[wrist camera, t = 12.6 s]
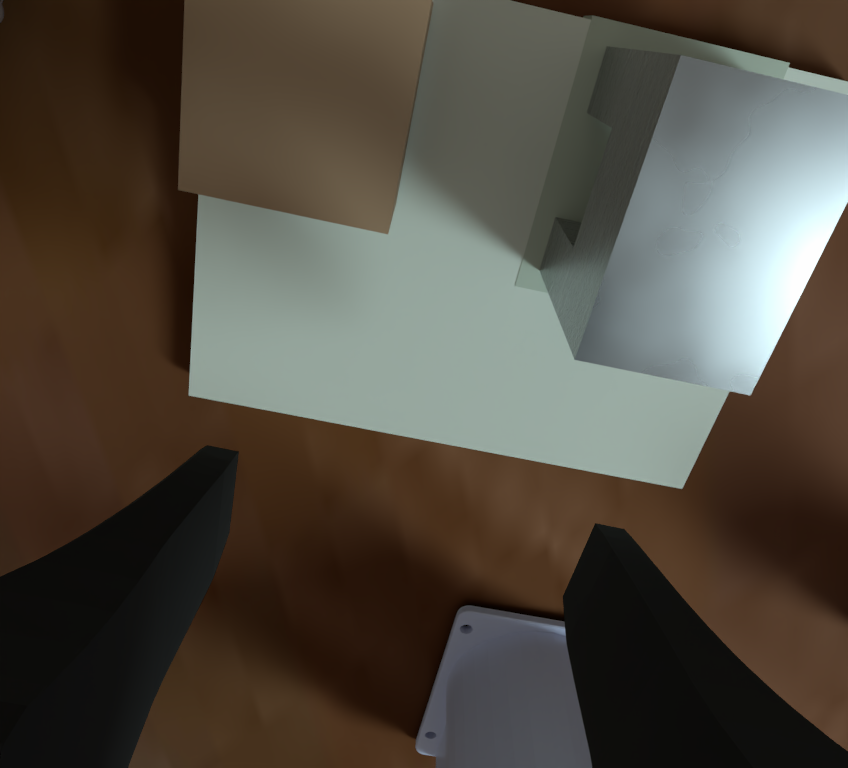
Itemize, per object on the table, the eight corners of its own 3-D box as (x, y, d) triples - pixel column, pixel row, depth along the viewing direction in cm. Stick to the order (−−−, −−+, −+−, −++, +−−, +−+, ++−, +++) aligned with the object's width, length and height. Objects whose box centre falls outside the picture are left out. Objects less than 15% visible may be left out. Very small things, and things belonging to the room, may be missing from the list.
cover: (395, 205, 19) (388, 234, 16) (216, 166, 18) (177, 190, 16) (433, 3, 16) (431, -2, 14) (228, -46, 16) (186, -60, 13)
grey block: (669, 297, 20) (750, 394, 15) (539, 270, 20) (574, 359, 14) (756, 81, 17) (895, 106, 12) (606, 45, 17) (681, 55, 12)
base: (671, 468, 24) (701, 526, 22) (200, 378, 23) (166, 427, 20) (852, 80, 18) (927, 90, 15) (226, -71, 17) (183, -90, 14)
